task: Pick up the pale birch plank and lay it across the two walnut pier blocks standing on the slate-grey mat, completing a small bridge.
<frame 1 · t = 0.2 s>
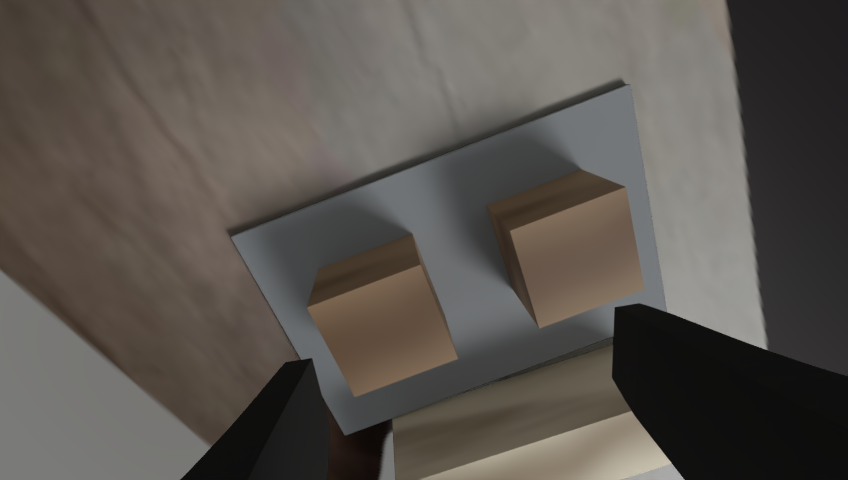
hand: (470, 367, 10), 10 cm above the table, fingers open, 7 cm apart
pier 2: (384, 292, 20), resting on mat
plank: (514, 403, 23), on the table
pier 1: (545, 232, 19), resting on mat
mat: (469, 277, 20), on the table
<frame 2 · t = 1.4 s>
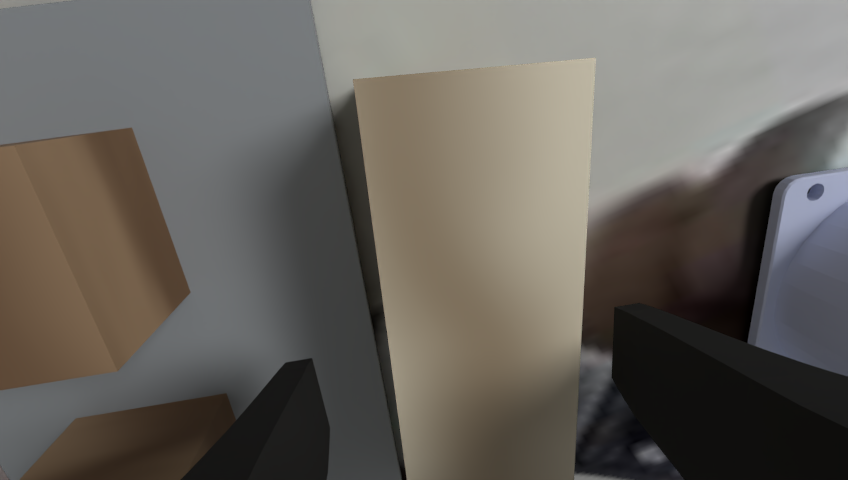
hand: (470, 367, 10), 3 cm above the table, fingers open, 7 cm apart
pier 2: (175, 460, 14), resting on mat
plank: (454, 296, 13), on the table
pier 1: (74, 228, 11), resting on mat
mat: (170, 346, 13), on the table
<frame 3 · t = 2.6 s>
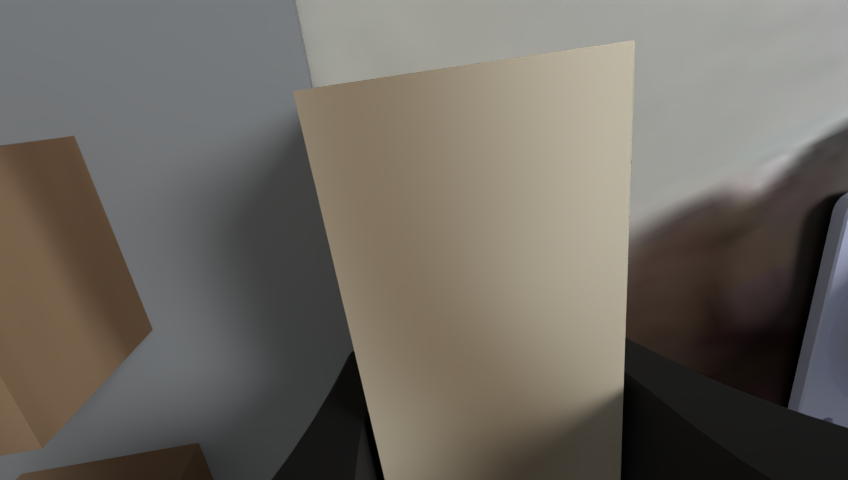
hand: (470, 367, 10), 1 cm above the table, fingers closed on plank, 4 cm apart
plank: (458, 333, 11), on the table, touching gripper
pier 1: (8, 256, 9), resting on mat
mat: (132, 390, 11), on the table
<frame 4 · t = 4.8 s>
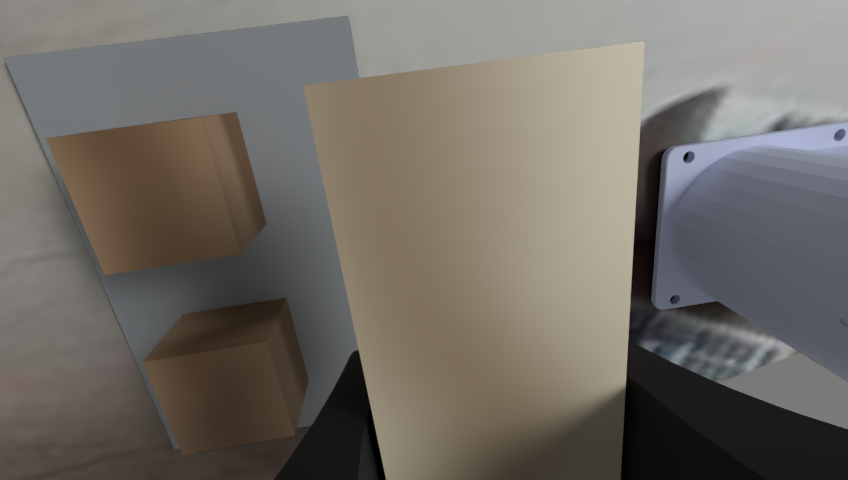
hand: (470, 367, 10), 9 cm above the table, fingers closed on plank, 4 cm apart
pier 2: (249, 348, 19), resting on mat
plank: (458, 332, 11), point 8 cm above the table, touching gripper
pier 1: (194, 178, 17), resting on mat
mat: (249, 263, 18), on the table
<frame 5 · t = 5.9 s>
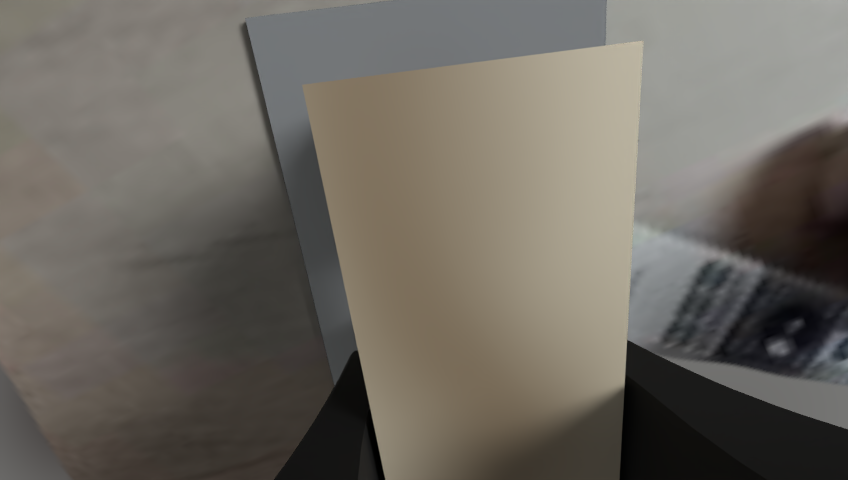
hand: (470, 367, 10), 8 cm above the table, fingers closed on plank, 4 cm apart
plank: (458, 332, 11), point 6 cm above the table, touching gripper
mat: (455, 247, 17), on the table
when the fingers open (6 cm above the table, at t = 7.0 s): plank stays where it is, resting on pier 2, pier 1.
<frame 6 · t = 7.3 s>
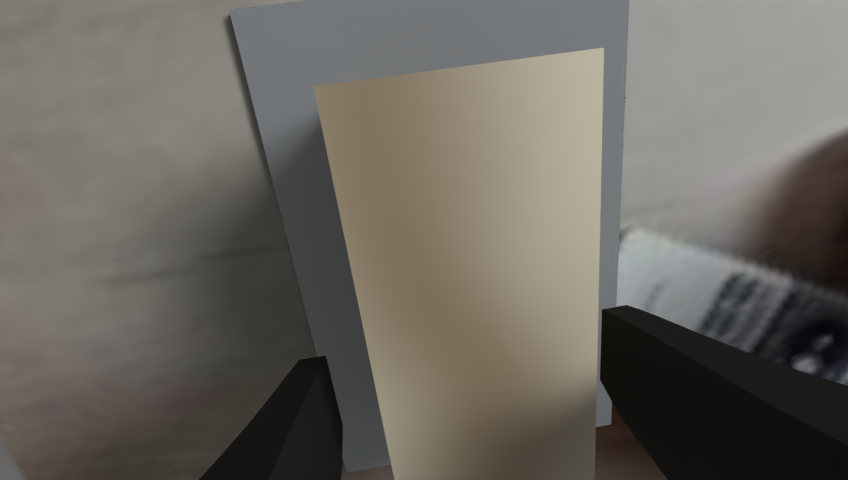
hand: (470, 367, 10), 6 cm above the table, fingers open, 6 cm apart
plank: (453, 315, 12), point 4 cm above the table, touching pier 2, pier 1
mat: (461, 260, 16), on the table
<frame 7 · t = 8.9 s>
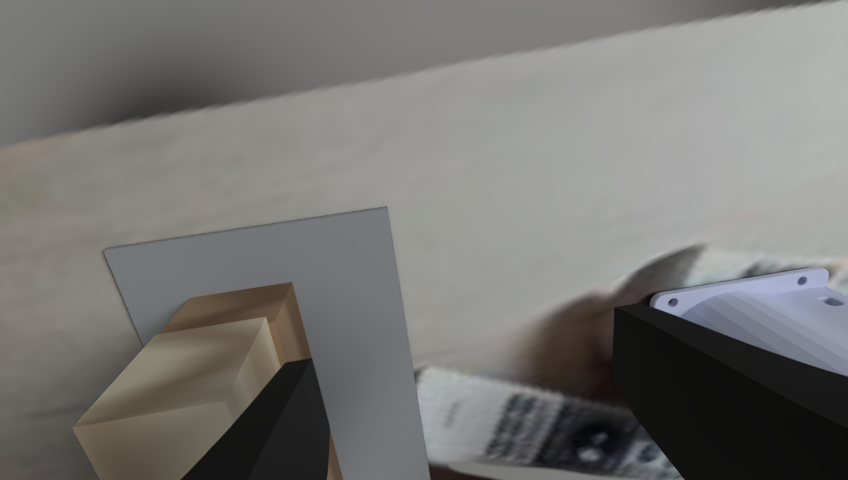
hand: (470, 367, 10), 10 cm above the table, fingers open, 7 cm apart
pier 2: (294, 460, 22), resting on mat, touching plank
plank: (257, 457, 18), point 4 cm above the table, touching pier 2, pier 1
pier 1: (254, 332, 20), resting on mat, touching plank
mat: (296, 393, 21), on the table
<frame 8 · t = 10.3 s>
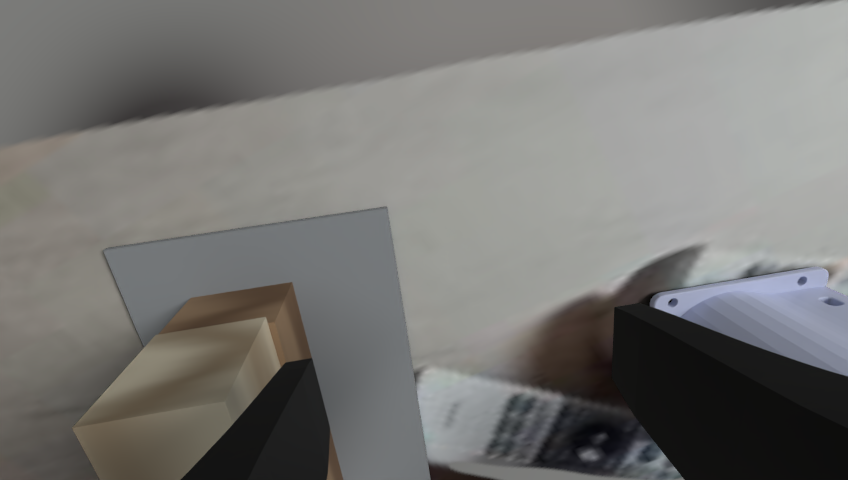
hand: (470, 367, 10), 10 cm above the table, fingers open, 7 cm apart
pier 2: (294, 460, 22), resting on mat, touching plank
plank: (257, 458, 18), point 4 cm above the table, touching pier 2, pier 1
pier 1: (254, 332, 20), resting on mat, touching plank
mat: (297, 393, 21), on the table
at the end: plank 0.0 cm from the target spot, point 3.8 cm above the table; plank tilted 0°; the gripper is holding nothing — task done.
